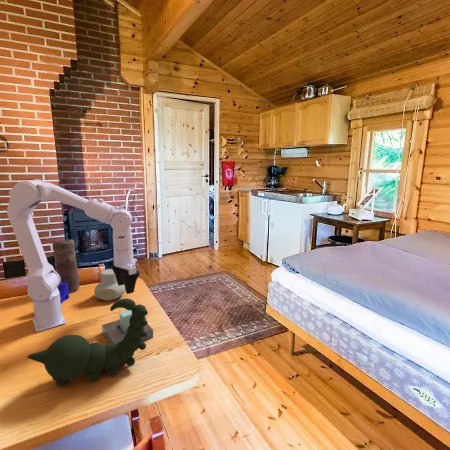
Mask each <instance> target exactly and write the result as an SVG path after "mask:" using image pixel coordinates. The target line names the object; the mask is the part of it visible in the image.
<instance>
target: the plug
mask: <svg viewBox="0 0 450 450" xmlns="http://www.w3.org/2000/svg"><path fill="white" fill-rule="evenodd" d="M118 313H119V320H120V329H121V333H125V332H127V328H128V327H129V325H130V323H129V320H130V317H131V316H132V310H127V309H125V310H123V311H119V312H118Z"/></svg>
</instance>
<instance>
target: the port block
mask: <svg viewBox="0 0 450 450" xmlns="http://www.w3.org/2000/svg"><path fill="white" fill-rule="evenodd" d="M144 329H145V331H146V332H147V336H146V337H144V338H143V337H142V338H143V339H144V341H146V340H149V339H151V338H154V328H152V326H151V325H149V323H148V324H147V325H146V326H144ZM101 330H102V331H101V332H102V334H103V336H104V337H105V339H106V340H107V342H108V344H109V343H118V342H120V341H123V338H124V337H125V335H126V334H127V332H125V333H121V329H120V319H117V320H114V321H111V322H108V323H104V324H101Z"/></svg>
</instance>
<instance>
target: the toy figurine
mask: <svg viewBox="0 0 450 450" xmlns="http://www.w3.org/2000/svg"><path fill="white" fill-rule="evenodd" d="M118 308H119V309H125V310H132V316H131V317H130V320H129V323H130V325H129V327H128V328H127V334H126V335H125V337H124V338H123V341H120V342H118V343H109V342H108V343H106V344H104V343H101V342H96V341H94V342H91V343H90V342H89V341H88V340H87V339H86V338H85V337H84V336H82V335H79V334H66V335H63V336H60V337H58V338H57V339H55V340H54V341H52V343H51V344H50V345H49V346H48V347H47V348H46V349H42V350H40V351H36V352H33V353H31V354H28V355H27V356H26V357H27V359H29V360H32V361H35V362H38V363H41V364H43V365H44V369H45V370H46V372H47V374H48V375H49V376H50V377H51V378H52V380H53V381H54V382H55V385H57V386H58V387H65V386H67V385H68V384H69V383H70V382H71V380H73V379H75V378H77V377H79V376H80V375H82V374H86V376H87V380H88V381H89V382H95V381H97V380H98V378H99V377H100V372H101V371H103V370H104V371H106V372H107V371H108V375H109V376H110V377H115V376H117V375H118V372H119V369H118V368H119V367H121V365H122V364H123V363H124V364H126V366H127V367H133V366H134V365H135V363H136V360H135V357H133V356H134V354H135V352H137V351H138V350H140V351H144V350H145V349H146V347H147V344H146V343H145V342H144V341H145V340H144V339H143V338H144V337H146V336H147V332H146V331H145V329H144V326H146V325H147V324H148V325H149V322H148V320H147V318H146V316H147V315H148V313H149V312H148V310H147V308H146V306H145V305H143V304H141V303H139V304H136V302H135V301H134V300H133V299H131V298H121V299H118V300H116V301H115V302H114V303H113V304H112V305H111V306H110V309H109V310H110V311H111V312H113V311H114V310H115V309H118ZM142 337H143V338H142Z"/></svg>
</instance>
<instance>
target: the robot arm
mask: <svg viewBox="0 0 450 450" xmlns="http://www.w3.org/2000/svg"><path fill="white" fill-rule="evenodd" d="M8 194H9V201H8V205H7V209H6V213H7V216H8V219H9V222H10V225H11V228H12V231H13V233H14V236H15V239H16V241H17V243H18V244H17V245H18V246H19V249H20V252H21V254H22V255H21V256H22V257H23V259H24V262H25V264H26V268H27V276H26V282H27V295H28V297H29V298H30V299H31V300H32V307H33V308H32V309H33V314H34V317H32V323H33V325H34V326H33V327H34V330H35V332H36V333H38V332H41V331H45V330H49V329H51V328H55V327H58V326H62V325H66V323H67V321H66V319H65V317H64V315H63V313H62V311H63V310H62V303H61V302H60V292H59V290H58V286H59V284H60V282H61V278H60V276H59V274H58V273H57V272H56V269H55V268H54V266H53V265H52V264H50V263H49V262H48V258H47V257H46V253H45V250H44V248H43V245H42V241H41V238H40V237H39V233H38V231H37V227H36V225H35V222H34V219H33V216H32V213H33V211H34V210H35V209H36V207H37V206H38V205H39V204H40V203H41V202H51V201H57V202H60V203H63V204H65V205H69V206H71V207H73V208H77V209H80V210H82V211H83V212H84V213H85V215H86V216H87V217H88V218H90V219H93V220H96V221H99V222H101V223H103V224H107V225H110V226H111V228H112V245H113V264H110V265H109V267H110V269H112V270H113V272H114V274H115V277H116V280H117V283H118V285H119V286H121V285H125V294H126V295H129V294H130V295H131V294H133V293H135V288H136V283H137V280H138V277H139V276H140V274H141V273H140V271H139V270H137V267H136V266H135V263H138V259H137V258H134V244H133V242H134V241H133V233H132V222H133V221H132V220H133V216H132V213H131V211H129V210H127V209H126V208H122V207H121V208H120V207H119V206H118V205H115V206H114V205H111V204H109V203H107V202H104V199H102V198H98V199H97V198H91V199H90V200H89V199H86V198H85V197H82V196H80V195H78V194H76V193H73V192H71V191H70V190H68V189H64V188H63V187H61V186H58V185H57V184H54V183H52V182H48V181H44V180H42V179H40V178H39V179H38V178H36V179H31V180H22V181H21V180H20V181H19V182H17V183H15V185H14V186H13V187H12V188H11V189H10V190H9V192H8Z"/></svg>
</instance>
